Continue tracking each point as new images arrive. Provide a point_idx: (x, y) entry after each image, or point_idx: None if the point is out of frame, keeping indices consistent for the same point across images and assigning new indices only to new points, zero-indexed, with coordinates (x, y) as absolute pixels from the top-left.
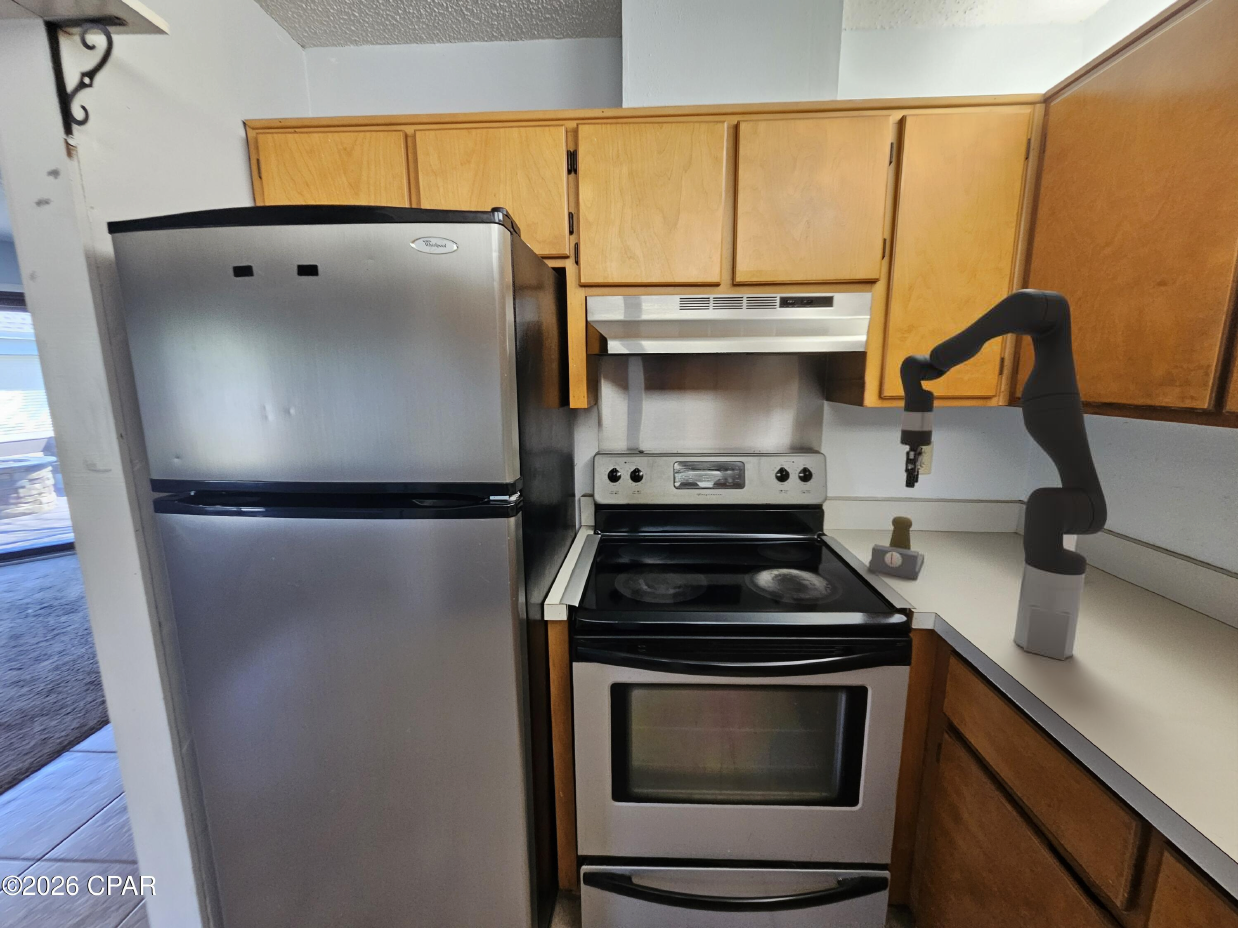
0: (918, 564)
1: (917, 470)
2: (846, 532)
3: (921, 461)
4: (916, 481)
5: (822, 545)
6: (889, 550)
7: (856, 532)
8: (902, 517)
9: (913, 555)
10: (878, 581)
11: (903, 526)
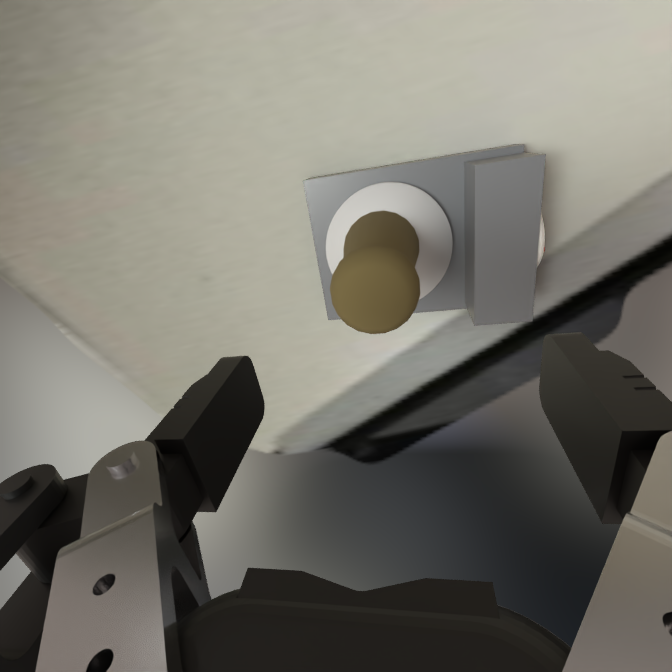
0: (435, 165)
1: (184, 453)
2: None
3: (161, 574)
4: (246, 369)
5: (368, 439)
6: (531, 263)
7: None
8: (378, 300)
9: (543, 168)
10: (603, 241)
11: (416, 271)
